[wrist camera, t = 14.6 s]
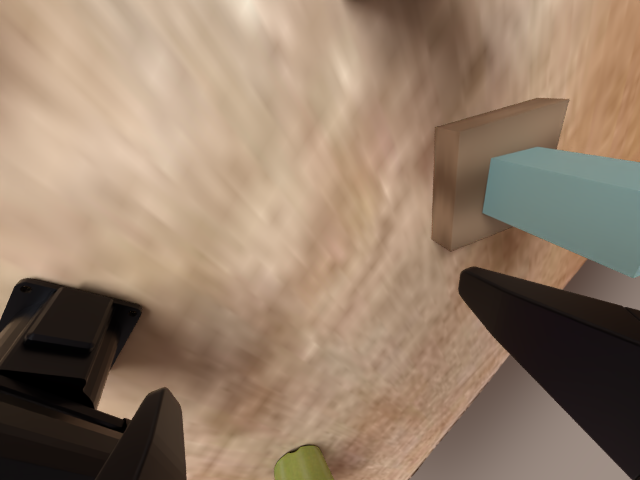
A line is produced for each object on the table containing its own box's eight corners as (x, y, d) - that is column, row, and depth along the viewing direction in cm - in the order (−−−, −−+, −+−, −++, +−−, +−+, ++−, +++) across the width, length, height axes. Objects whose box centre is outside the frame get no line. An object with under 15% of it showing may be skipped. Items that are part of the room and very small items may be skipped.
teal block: (525, 200, 25) (689, 254, 16) (482, 212, 24) (633, 278, 15) (537, 146, 22) (734, 177, 14) (491, 158, 21) (672, 198, 13)
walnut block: (510, 205, 29) (539, 216, 27) (427, 236, 27) (450, 251, 25) (531, 97, 24) (569, 99, 21) (430, 126, 22) (459, 131, 19)
